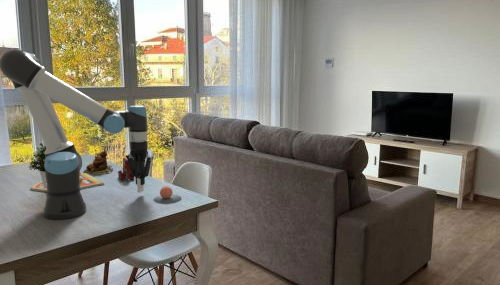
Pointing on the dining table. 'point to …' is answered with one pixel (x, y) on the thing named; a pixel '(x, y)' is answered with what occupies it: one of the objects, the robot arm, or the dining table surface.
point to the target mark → (165, 201)
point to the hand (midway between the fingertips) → (140, 191)
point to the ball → (166, 192)
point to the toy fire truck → (125, 171)
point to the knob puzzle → (84, 179)
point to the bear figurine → (99, 165)
